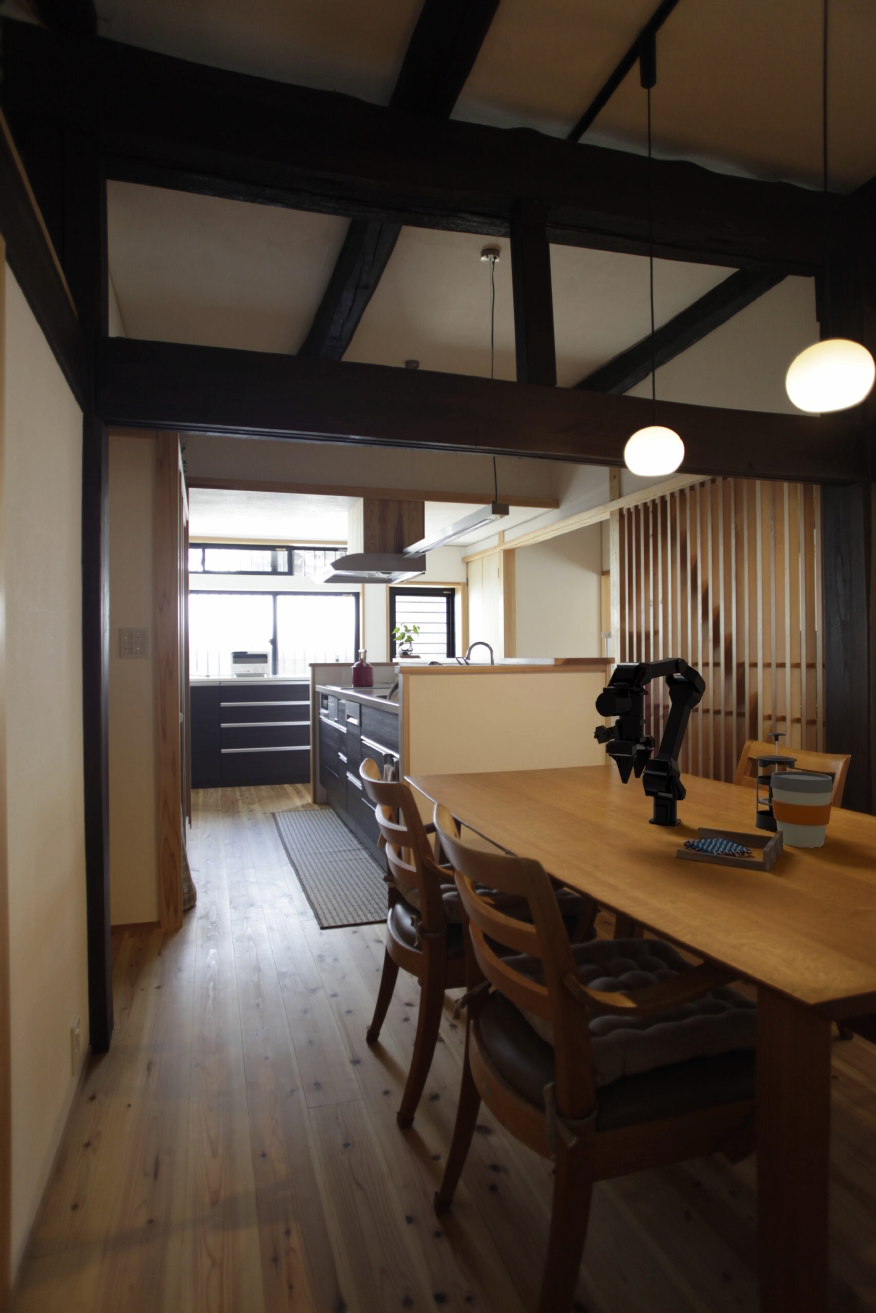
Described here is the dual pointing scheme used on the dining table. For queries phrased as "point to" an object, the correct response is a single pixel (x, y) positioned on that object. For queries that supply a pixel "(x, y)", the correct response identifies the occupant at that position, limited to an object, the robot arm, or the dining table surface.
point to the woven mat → (717, 847)
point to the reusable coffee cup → (802, 806)
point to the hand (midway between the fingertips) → (631, 780)
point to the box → (769, 843)
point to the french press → (767, 816)
